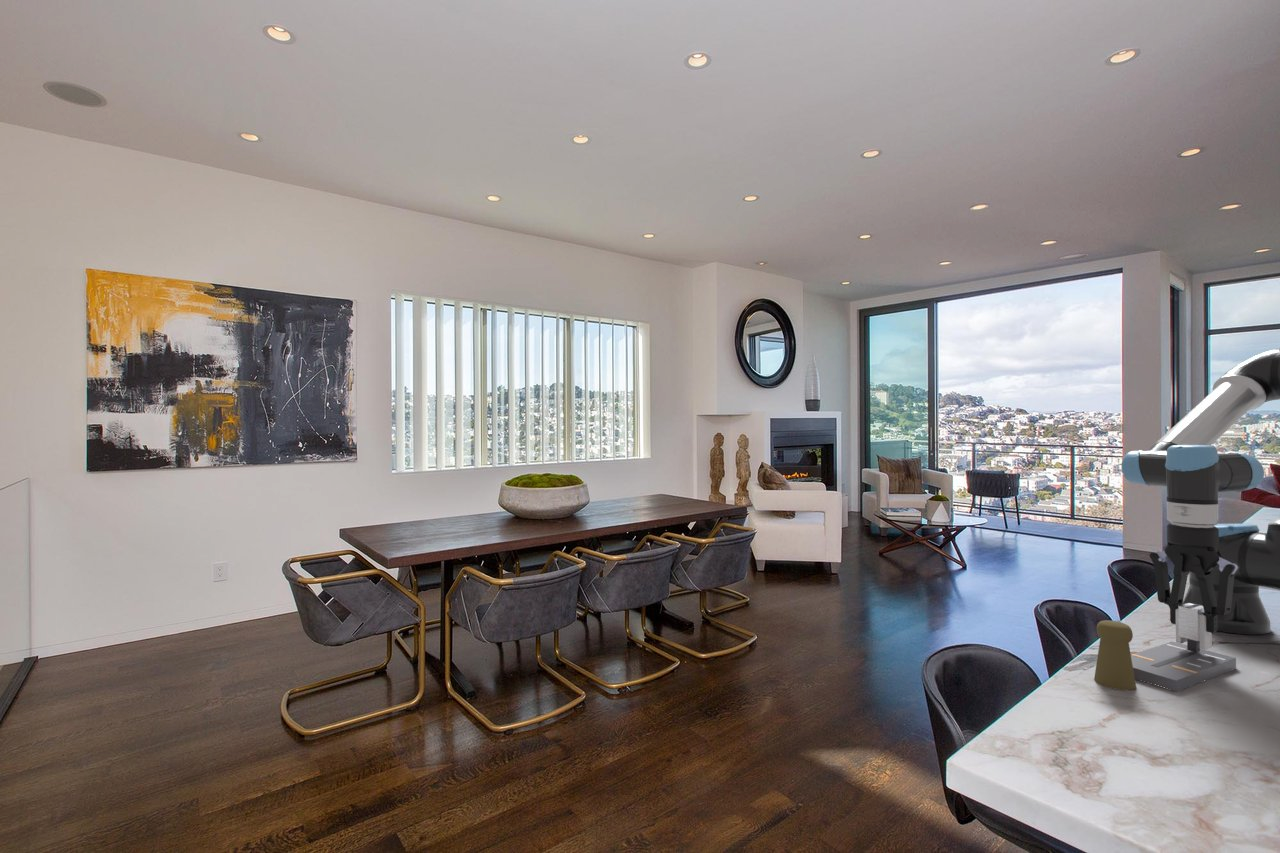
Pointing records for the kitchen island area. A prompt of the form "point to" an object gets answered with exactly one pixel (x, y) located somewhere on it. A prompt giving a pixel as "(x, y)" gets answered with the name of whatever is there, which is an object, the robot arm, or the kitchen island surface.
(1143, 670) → the fader console
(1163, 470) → the robot arm
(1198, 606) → the fader knob
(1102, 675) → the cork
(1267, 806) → the kitchen island surface
